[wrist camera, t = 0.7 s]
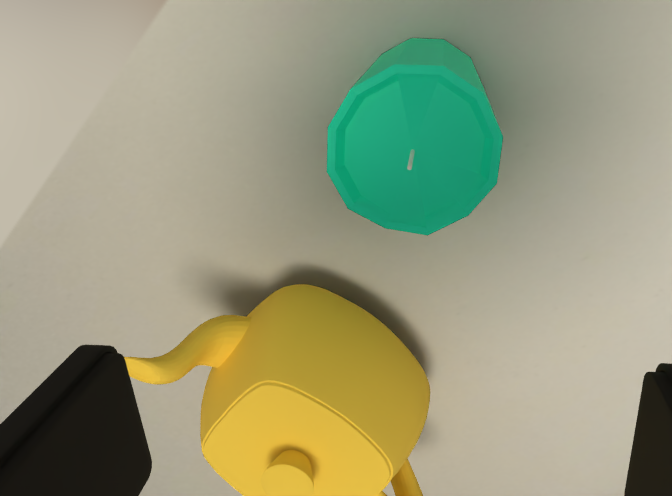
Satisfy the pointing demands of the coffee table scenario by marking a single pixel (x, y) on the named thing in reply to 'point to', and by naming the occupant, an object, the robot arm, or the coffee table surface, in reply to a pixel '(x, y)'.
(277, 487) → the teapot
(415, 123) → the candle
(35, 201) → the coffee table surface
